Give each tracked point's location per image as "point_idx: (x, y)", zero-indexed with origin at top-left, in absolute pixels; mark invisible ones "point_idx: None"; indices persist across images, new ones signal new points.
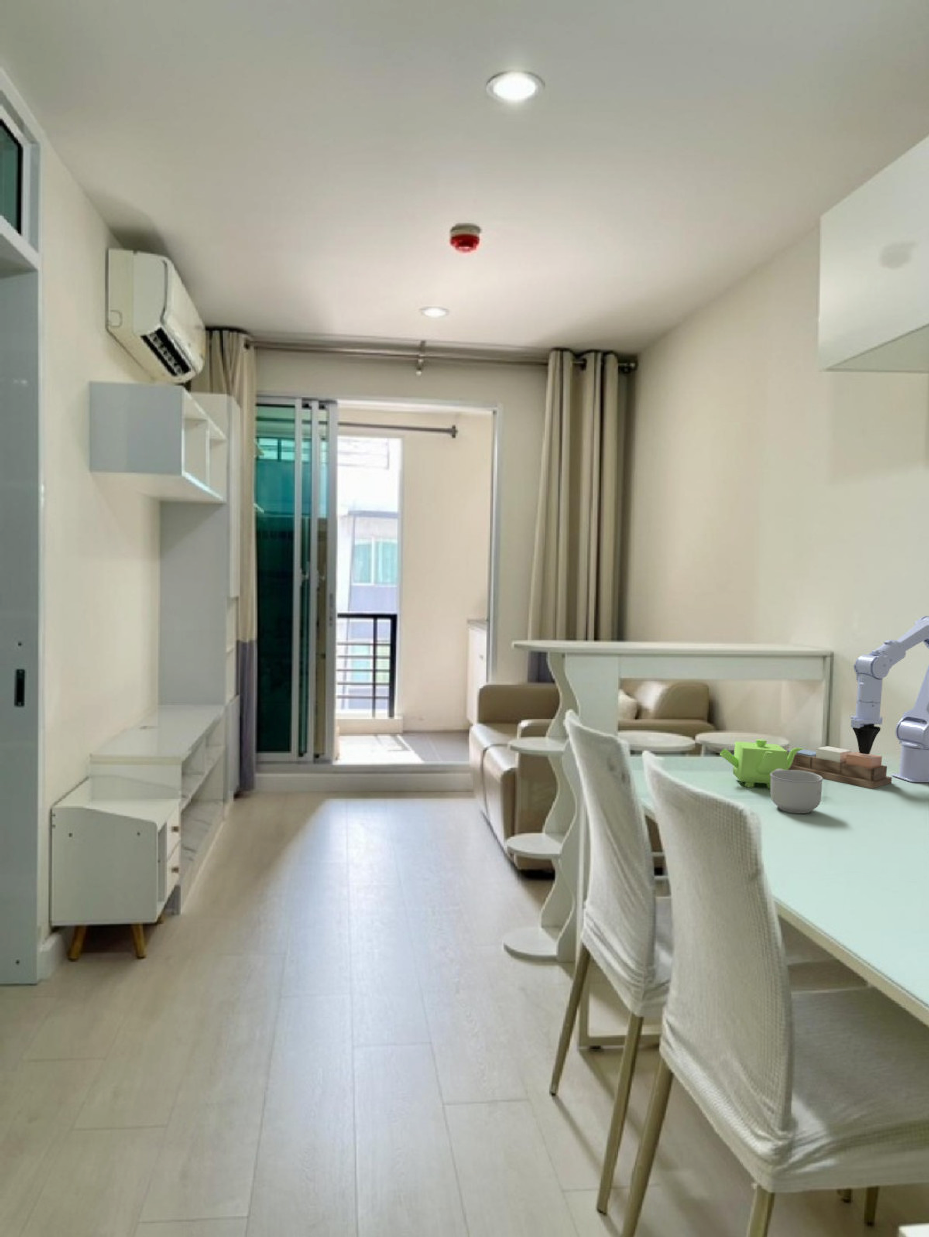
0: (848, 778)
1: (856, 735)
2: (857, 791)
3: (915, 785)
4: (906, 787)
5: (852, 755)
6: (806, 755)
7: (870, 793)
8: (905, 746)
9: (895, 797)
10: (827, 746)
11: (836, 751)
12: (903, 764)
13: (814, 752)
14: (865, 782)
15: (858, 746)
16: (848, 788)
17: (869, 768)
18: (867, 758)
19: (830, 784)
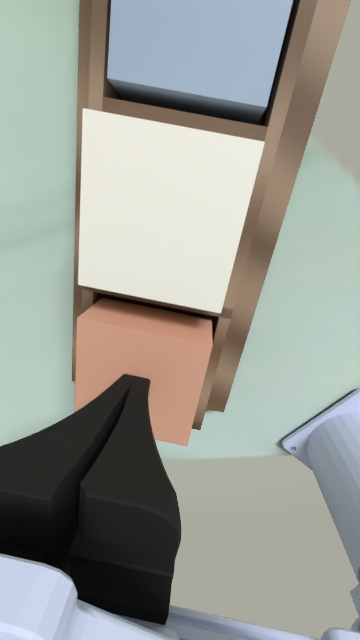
0: (74, 308)
1: (46, 430)
2: (2, 345)
3: (249, 449)
4: (195, 434)
5: (77, 345)
6: (111, 49)
7: (15, 375)
8: None
9: (35, 425)
10: (247, 146)
11: (95, 256)
12: (343, 459)
13: (232, 63)
14: (73, 359)
15: (107, 388)
16: (14, 318)
17: None
18: (76, 405)
19: (11, 260)
